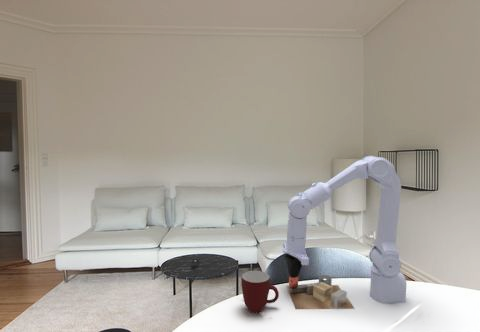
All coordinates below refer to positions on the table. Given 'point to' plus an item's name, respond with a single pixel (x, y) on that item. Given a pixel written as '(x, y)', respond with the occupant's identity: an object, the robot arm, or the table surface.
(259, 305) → the mug
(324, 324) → the table surface
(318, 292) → the tan cube
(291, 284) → the lever
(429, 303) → the table surface
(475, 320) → the table surface
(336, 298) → the brown grey rectangular block
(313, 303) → the board
